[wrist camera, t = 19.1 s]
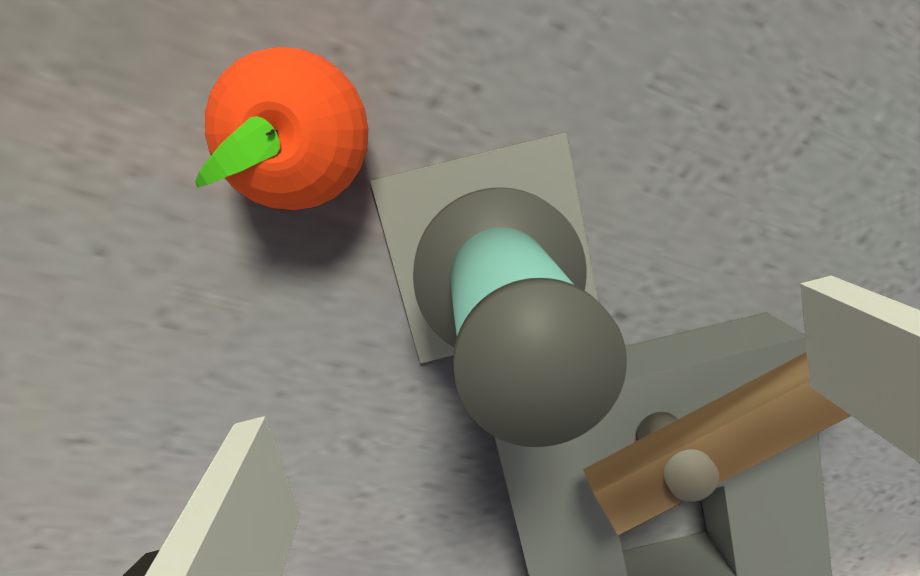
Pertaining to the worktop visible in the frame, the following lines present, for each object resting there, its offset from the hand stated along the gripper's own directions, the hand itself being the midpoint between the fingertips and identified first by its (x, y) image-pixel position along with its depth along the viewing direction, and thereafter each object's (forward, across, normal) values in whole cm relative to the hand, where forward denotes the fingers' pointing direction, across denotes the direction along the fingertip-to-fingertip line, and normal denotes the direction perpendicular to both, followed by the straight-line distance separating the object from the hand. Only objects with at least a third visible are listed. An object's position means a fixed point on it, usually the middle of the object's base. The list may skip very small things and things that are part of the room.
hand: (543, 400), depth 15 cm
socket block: (+18, +7, -18) cm, 26 cm away
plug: (+18, +1, 0) cm, 18 cm away
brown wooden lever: (+14, +10, -9) cm, 20 cm away
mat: (+19, +1, 0) cm, 19 cm away
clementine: (+19, -7, +8) cm, 22 cm away
